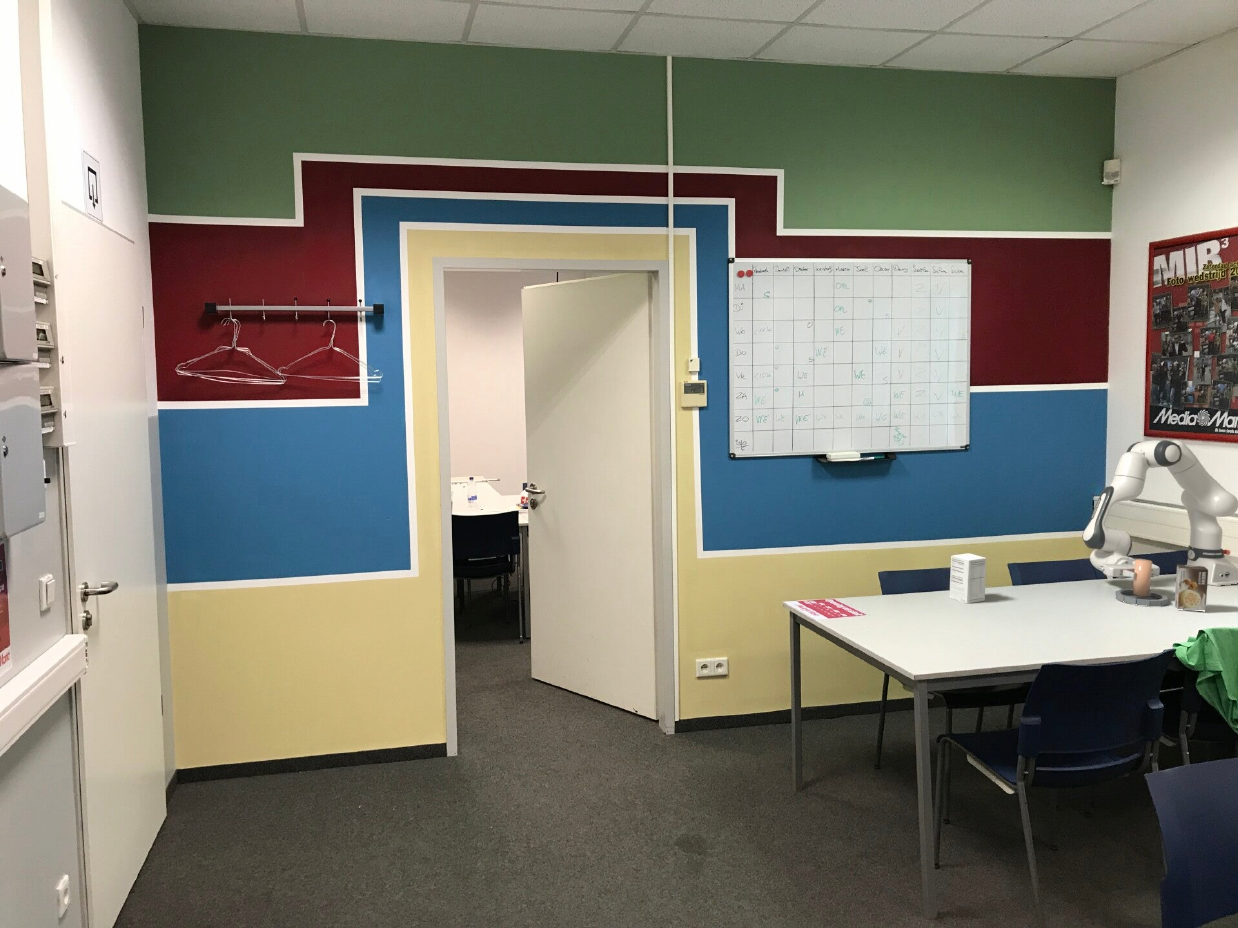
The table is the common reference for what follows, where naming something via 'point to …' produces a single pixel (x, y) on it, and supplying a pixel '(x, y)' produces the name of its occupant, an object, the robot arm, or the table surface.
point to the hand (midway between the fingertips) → (1143, 575)
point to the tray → (1141, 598)
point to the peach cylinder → (1142, 577)
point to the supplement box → (968, 578)
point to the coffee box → (1191, 587)
